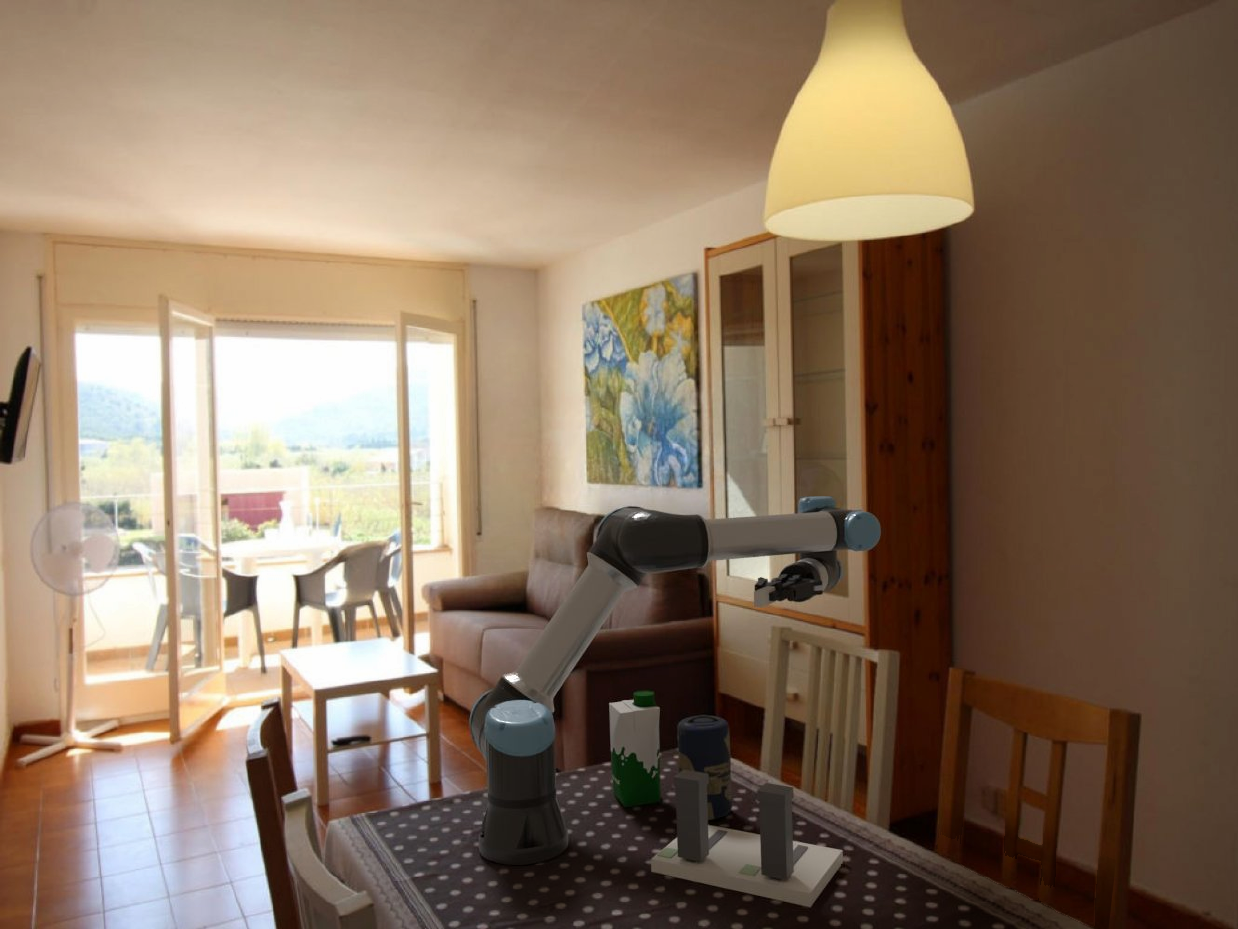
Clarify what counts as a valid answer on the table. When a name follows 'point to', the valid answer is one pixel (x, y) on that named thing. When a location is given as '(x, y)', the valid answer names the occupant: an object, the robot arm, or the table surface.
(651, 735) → the milk carton
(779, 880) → the switch board
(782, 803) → the switch
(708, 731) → the canister
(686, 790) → the switch
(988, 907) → the table surface
